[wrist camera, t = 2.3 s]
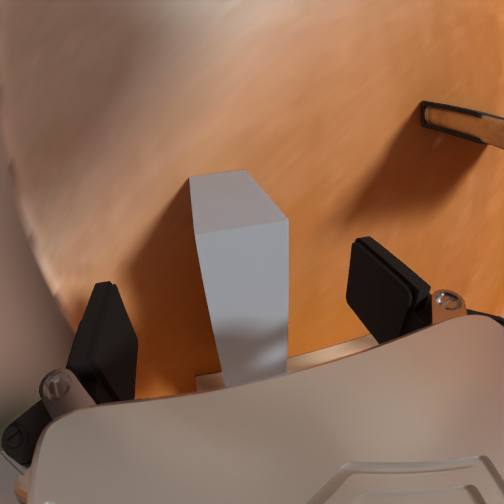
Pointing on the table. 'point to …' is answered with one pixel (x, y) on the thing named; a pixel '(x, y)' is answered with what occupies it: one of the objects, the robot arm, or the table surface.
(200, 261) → the grey block
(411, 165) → the table surface
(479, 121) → the ammunition clip
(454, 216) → the table surface
